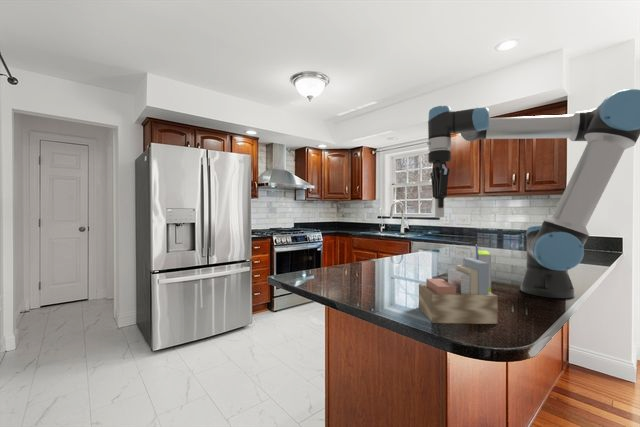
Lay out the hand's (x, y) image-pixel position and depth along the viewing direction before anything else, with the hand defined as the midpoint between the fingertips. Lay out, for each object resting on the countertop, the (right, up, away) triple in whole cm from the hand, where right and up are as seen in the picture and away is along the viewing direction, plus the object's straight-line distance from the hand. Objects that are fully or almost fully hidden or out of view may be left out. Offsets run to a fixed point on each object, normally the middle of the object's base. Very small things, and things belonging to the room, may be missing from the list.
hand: (439, 217), depth 113 cm
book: (-10, -27, -27) cm, 39 cm away
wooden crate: (-6, -26, -27) cm, 38 cm away
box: (+10, -27, -11) cm, 30 cm away
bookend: (-5, -26, -28) cm, 39 cm away
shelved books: (-2, -26, -28) cm, 38 cm away
